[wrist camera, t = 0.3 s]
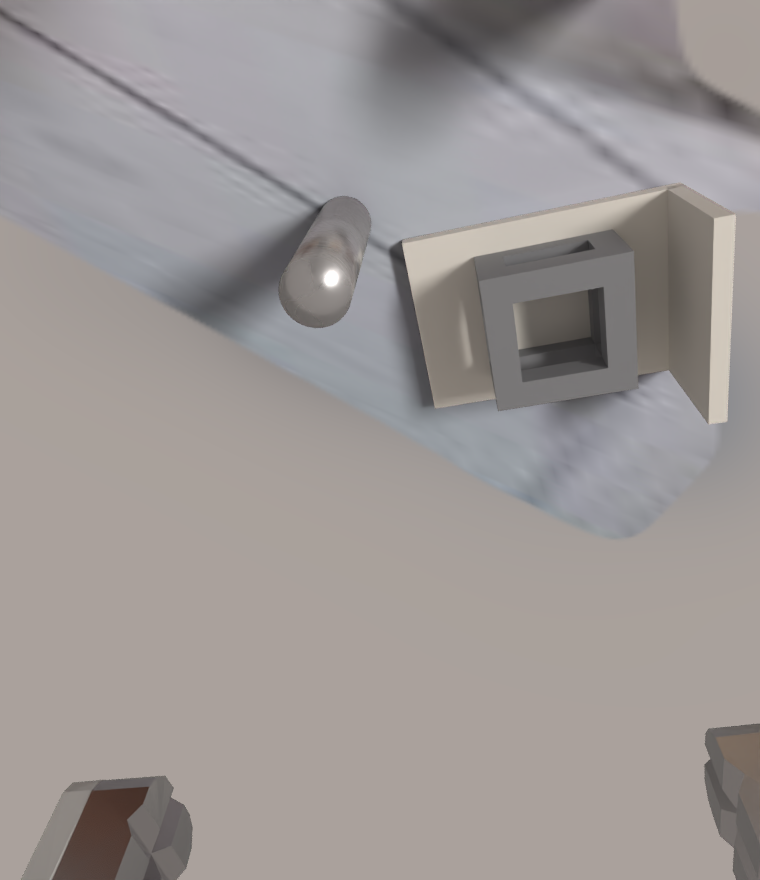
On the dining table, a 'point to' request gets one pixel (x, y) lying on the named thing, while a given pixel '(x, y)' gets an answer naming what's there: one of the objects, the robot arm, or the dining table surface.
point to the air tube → (326, 264)
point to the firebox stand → (579, 301)
